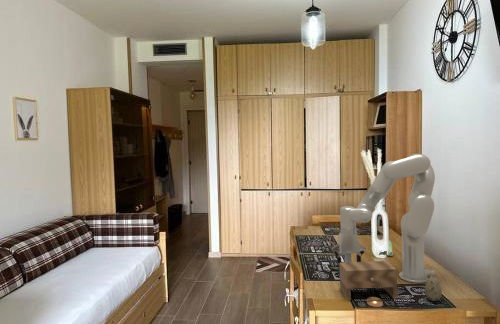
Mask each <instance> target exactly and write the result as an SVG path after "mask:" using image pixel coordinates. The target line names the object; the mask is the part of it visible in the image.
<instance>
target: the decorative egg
mask: <svg viewBox="0 0 500 324" xmlns="http://www.w3.org/2000/svg"><path fill="white" fill-rule="evenodd" d="M424 293H425V296H426V298H427V299H428V300H430V301H432V302H438V301H440V299H442V298H441V297H442V293H443V292H442V287H441V283H440V282H439V280H438V279H437V277H435V276H429V277H428V280H427V282H425V286H424Z"/></svg>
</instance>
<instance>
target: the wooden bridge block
mask: <svg viewBox="0 0 500 324" xmlns="http://www.w3.org/2000/svg"><path fill="white" fill-rule="evenodd" d="M397 275H398V272H397V268H396V267H394V266H393V265H392V264H391V263H390V262H388V261H387V260H378V261H375V260H374V261H361V262H357V261H351V262H345V261H344V262H341V263H340V265H339V291H340V292H341V293H342V295H343V296H344V298H345V300H346V301H351V300H352V297H351V296H352V294H351V290H353V289H373V288H379V289H380V288H382V289H383V290H384V291H385V292H386V293H387V294H388V295H389V296H390V297H391V298H392V299H393V300H394V299H398V279H397V278H398V277H397Z"/></svg>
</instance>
